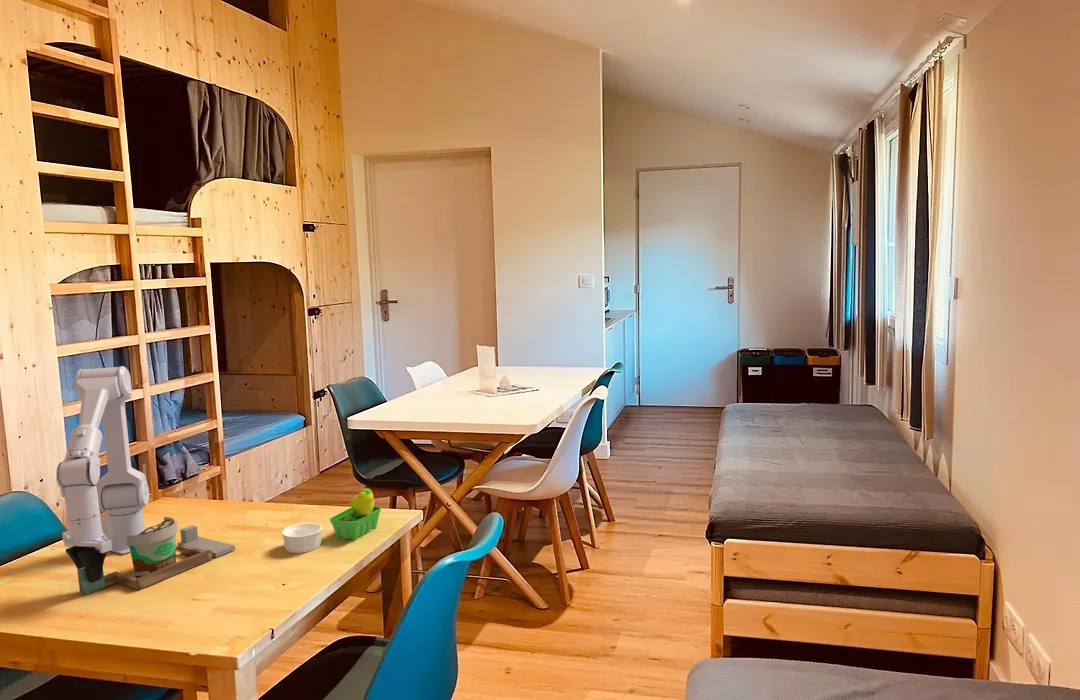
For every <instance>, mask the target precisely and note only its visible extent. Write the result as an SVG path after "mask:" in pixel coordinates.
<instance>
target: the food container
mask: <svg viewBox="0 0 1080 700" xmlns="http://www.w3.org/2000/svg"><path fill="white" fill-rule="evenodd" d="M179 531H180V529H179V526H178V524H177V521H176V520H175V519H174V518H172V517H170V516H169V517H167V516H163V521H161V522H160V523H158V524H156V525H153V526H149V527H147V528H145V530H144V531H143V532H141V533H140V534H138V535H133V536H128V539H127V546H129V547H130V552H129V553H130V557H131V561H132V565H133V570H134V571H133V572H134V575H135V578H139V577H142V576H144V575H147V574H149V573H152V572H154V571H157V570H159V569H161V568H164V567H166V566H169V565H171V564H174V563H176V562H177V547H176V546H177V545H176V544H177V543H176V541H177V540H176V535H177V534H178V532H179Z"/></svg>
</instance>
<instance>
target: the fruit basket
mask: <svg viewBox="0 0 1080 700" xmlns="http://www.w3.org/2000/svg"><path fill="white" fill-rule="evenodd" d="M350 506H351V507H350V508H348V509H346V510H343V511H341V512H339V513H338V514H336V515H334V516H332V517H330V518H329V522H330V523H331V526H332V528H333V530H334V533H335V536H336V538H337V539H339V538H342V540H346V539H352V540H351V541H357V540H358V539H359V538H361V537H360V536H362V535H363V536H365V535H366V534H365V533H367V532H369V531H370V530H371V529H374V528H375V529H377V526H378V523H379V517H380V513H381V509H382V507H381V506H375V500H374V493H373V491H372V489H370V488H363V489H362V490H361V491H360V492H359V493H358V494H356V495H354V496H353V498H351V501H350ZM375 529H374V530H375ZM371 531H372V530H371ZM371 531H370V532H371ZM370 532H369V533H370ZM364 534H365V535H364ZM367 534H368V533H367ZM363 536H362V537H363ZM357 538H358V539H357ZM356 539H357V540H356Z"/></svg>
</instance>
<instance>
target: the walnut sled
mask: <svg viewBox="0 0 1080 700" xmlns="http://www.w3.org/2000/svg"><path fill="white" fill-rule="evenodd" d="M179 550H180V554H183V555H186V556H189V557H187V558H184V559H182V560H179V561H176V563H174V564H171V565H169V566H166V567H164V568H161V569H159V570H157V571H154V572H152V573H149V574H147V575H144V576H142V577H139V578H136V577H134V576H132V575H128V574H125V573H121V572H118V571H115V570H114V571H113V572H111V573H107V574H105V575H104V568H103V569H102V575H101V579H100V580H98V581H95V582H93V583H89V581H88V579H87V576H86V572H85V568H84V567H83V568H80V569H77V568H76V569H77V571H76V572H77V579H78V587H79V589H78V590H79V594H82V595H88V594H91V593H94V592H96V591H98V590H100V589H104V588H106V587H108V586H111V585H114V584H117V583H118V584H121V585H124V586H128V587H130V588H134V589H137V590H142V589H144V588H146V587H149V586H151V585H154V584H156V583H159V582H161V581H163V580H166V579H168V578H170V577H173V576H175V575H177V574H180V573H182V572H184V571H188V570H189V569H192V568H195V567H197V566H199V565H202V564H204V563H206V562H209V561H212V560H213V556H212V551H211V550H206V551H205V550H201V549H197V548H193V547H190V546H186V545H183V546H180V548H179Z"/></svg>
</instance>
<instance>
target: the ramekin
mask: <svg viewBox="0 0 1080 700" xmlns="http://www.w3.org/2000/svg"><path fill="white" fill-rule="evenodd" d="M322 531H323V526H322V525H321V524H320V523H316V522H302V523H301V522H300V523H296V524H292V525H289V526H287V527H285V528H284V529H282V531H281V535H282V538H283V543H284V544H283V545H284V549H285V550H286V551H287V552H288V553H291V554H301V553H302V554H303V552H304V553H309V552H312V551H314V549H315V550H316V549H318V548H319V547H320V546H321V543H322Z"/></svg>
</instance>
